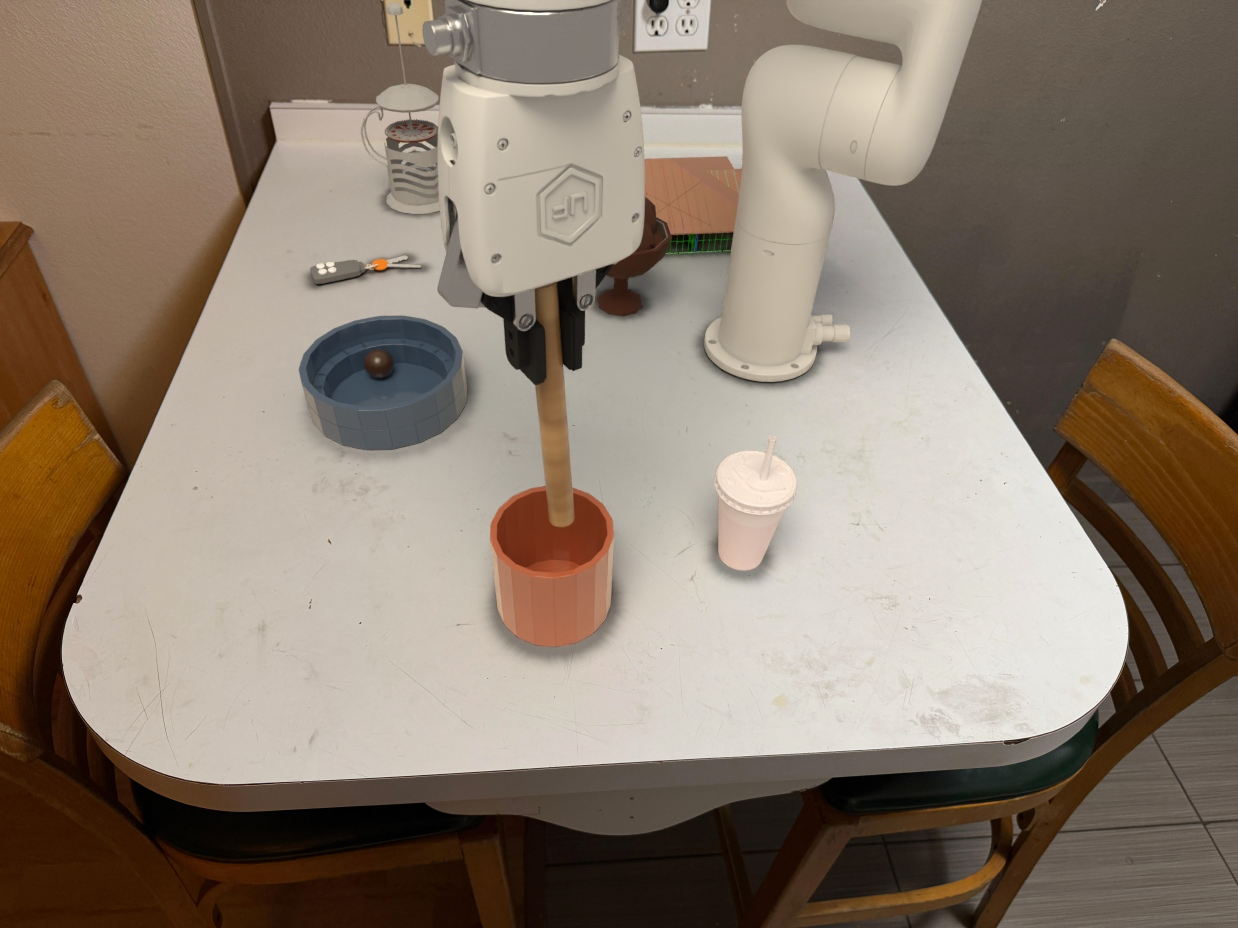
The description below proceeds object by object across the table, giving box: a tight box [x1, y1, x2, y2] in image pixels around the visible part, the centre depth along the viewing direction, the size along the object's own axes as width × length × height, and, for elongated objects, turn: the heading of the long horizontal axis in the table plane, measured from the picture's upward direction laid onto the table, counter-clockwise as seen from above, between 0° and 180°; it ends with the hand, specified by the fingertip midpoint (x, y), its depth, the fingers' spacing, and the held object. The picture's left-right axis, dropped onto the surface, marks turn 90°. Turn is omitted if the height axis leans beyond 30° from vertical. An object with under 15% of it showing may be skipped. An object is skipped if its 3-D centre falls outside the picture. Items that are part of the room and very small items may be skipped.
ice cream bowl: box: [597, 197, 673, 317], centre depth 93 cm, size 11×11×15 cm
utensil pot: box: [489, 485, 615, 648], centre depth 63 cm, size 9×9×9 cm
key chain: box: [309, 254, 422, 285], centre depth 101 cm, size 13×4×2 cm, turn 114°
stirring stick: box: [534, 282, 575, 527], centre depth 51 cm, size 2×2×18 cm
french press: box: [360, 2, 440, 215], centre depth 107 cm, size 10×12×25 cm
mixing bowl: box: [298, 314, 468, 451], centre depth 81 cm, size 15×15×6 cm
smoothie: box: [713, 435, 798, 571], centre depth 65 cm, size 6×6×14 cm
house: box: [644, 155, 742, 255], centre depth 112 cm, size 23×33×8 cm
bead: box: [364, 349, 394, 379], centre depth 84 cm, size 3×3×3 cm
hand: (546, 363), depth 49 cm, fingers closed on stirring stick, 1 cm apart
